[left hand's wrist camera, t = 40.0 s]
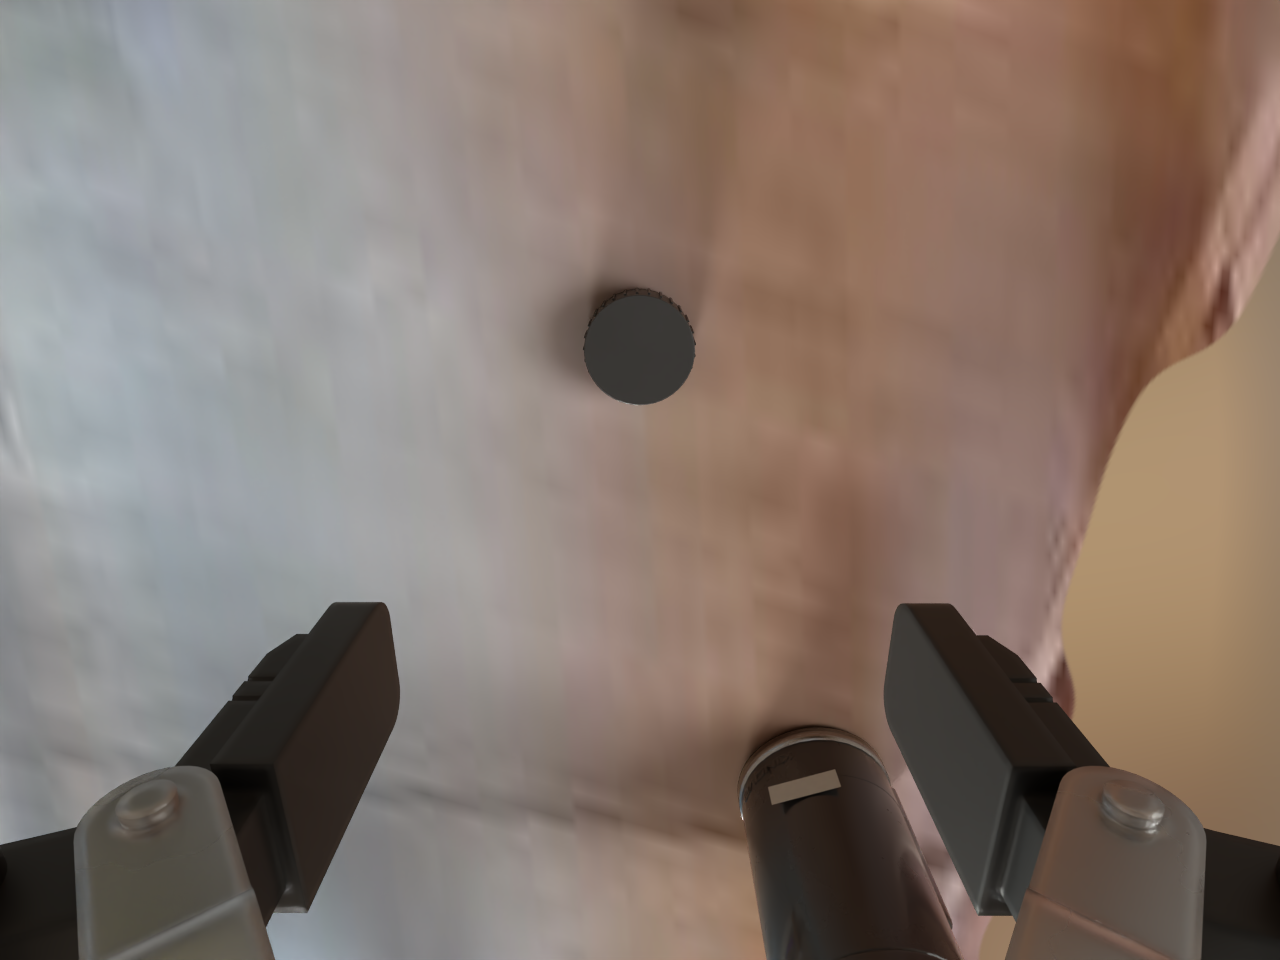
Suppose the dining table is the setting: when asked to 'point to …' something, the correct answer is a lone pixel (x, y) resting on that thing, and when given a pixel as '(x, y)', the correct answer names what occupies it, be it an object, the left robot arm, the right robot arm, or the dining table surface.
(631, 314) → the lid
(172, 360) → the dining table surface
